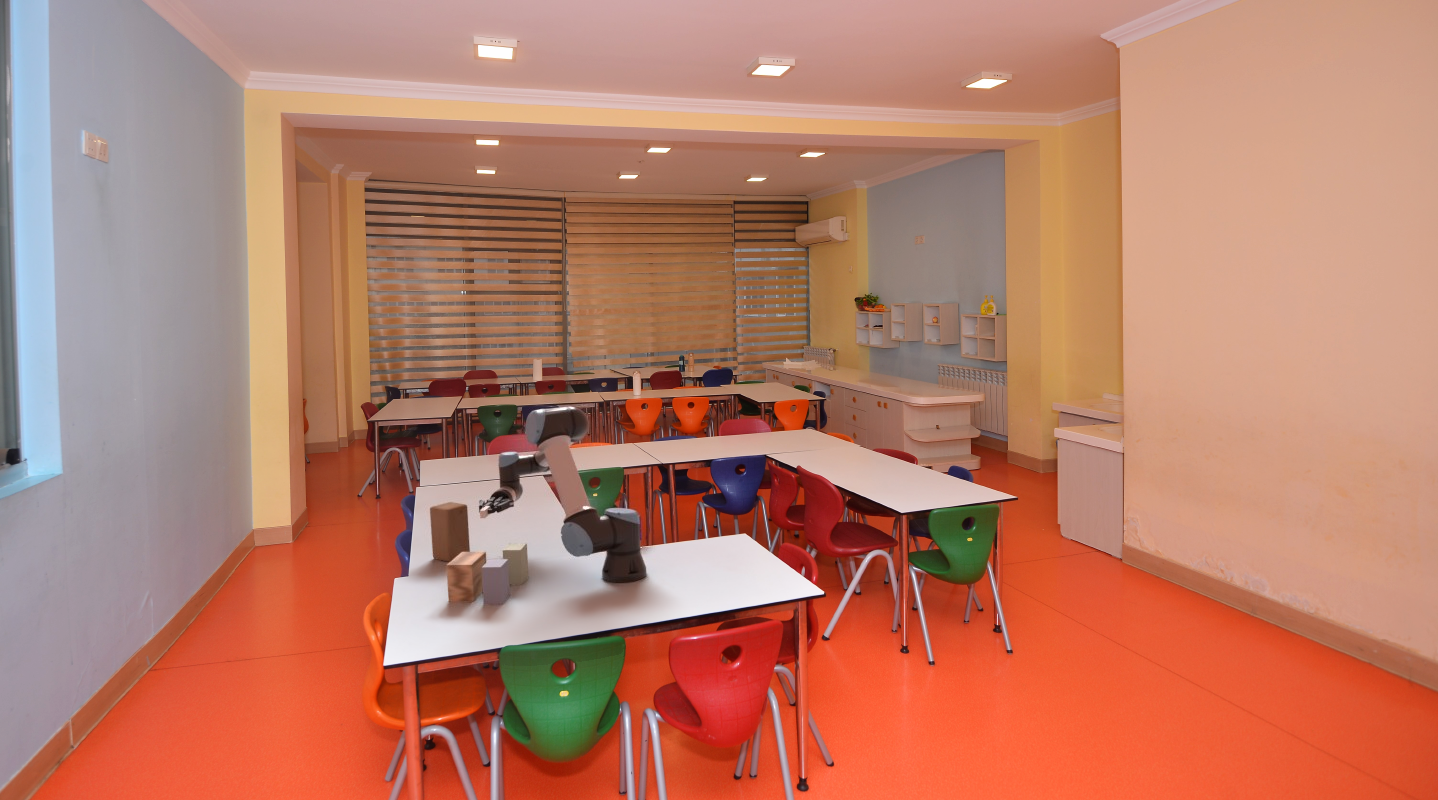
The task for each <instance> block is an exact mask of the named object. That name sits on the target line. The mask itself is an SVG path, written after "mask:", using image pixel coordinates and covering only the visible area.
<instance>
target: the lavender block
mask: <svg viewBox="0 0 1438 800" xmlns="http://www.w3.org/2000/svg"><path fill="white" fill-rule="evenodd" d="M482 585H483V592H482V598H483V600H482V601H483V605H485V606H487V605H489V606H491V605H492V606H493V605H496V606H497V605H504V604H505V603H506V601H507V600H508V599H509V598H510V596H511V589H510V588H511V587H510V586H511V585H510V584H509V564H508V559H503V558H502V559H501V558H498V559H488V560H487V561H486V564H484V565H483V566H482Z"/></svg>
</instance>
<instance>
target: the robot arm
mask: <svg viewBox="0 0 1438 800" xmlns="http://www.w3.org/2000/svg"><path fill="white" fill-rule="evenodd" d="M525 421H526V422H525V437H526V440H527V442H528V444H531V445H536V447H537V451H536V452H534V453H533V454H526V455H519V453H518V451H505V452H501V453H499V455H498V473H499V474H498V475H499V488H498V489H497V490H496V491H494V492H493V493H491V496H490V498H488V499H487V500H486V501H485V500H483V499H479V500H478V501H479V503H478V504H479V505H478V512H479V517H480V519H486V518H487V517H488V516H489V515H491V514H494V513H498V514H500V513H502V512H504V511H506V510H508V509H509V508H510V509H511V508H513V507H515V503H516V502H517V501H518V500H520V498H521V497H522V495H523V492H524V488H523V484H521V483H520V482H521V479H520V478H521V476H526V475H533V474H540V473H547V472H550V474H551V477H552V479H553V482H554V485H555V489H556V491H557V493H558V497H559V499H560V503H561V505H562V509H563V511H564V514H565V517H564V519H563V521H562V522H563V525H562V526H561V528H560V535H561V536H560V537H561V543H562V544H563V546H564V548H565V550H566V551H567V552H568V553H569V554H570V555H572V556H573V557H576V558H577V557H578V558H579V557H588V556H590V555H594V554H598V553H602V552H606V555H605V559H604V562H603V566H602V570H601V575H602V576H601V577H602V579H603V580H605V581H607V582H612V583H631V582H636V581H640V580H641V579H644V578H645V577H646V576H647V565H646V564H645V561H644V559H643V558H644V557H643V556H642V552H641V541H640V529H641V528H640V519H639V516H640V514H639V512H638V511H636V510H634V509H631V508H626V507H625V508H623V507H612V508H611V507H610V508H606V509H605V510H604V512H603V513H604V515H599V513H598V510H597V508H595V507H593V506H591V504H590V500H589V498H588V496H587V493H586V490H585V487H584V484H583V482H582V479H581V476H580V474H579V470H578V467H577V465H576V462H575V460H574V457H573V454H572V452H571V451H572V450H571V449H570V448H571V446H572V445H573V444H574V443H578V442H580V441H581V440H582V439H584V437H585V436H586V435H587V433H588V432H589V429H590V421H589V418H588V416H587V414H586V413H585V412H584V411H583V410H582V409H580V408H578V407H575V406H571V405H569V406H560V407H551V408H540V409H535V410H532V411H531V412H530V413H528V415H527V418H526V420H525Z"/></svg>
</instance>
